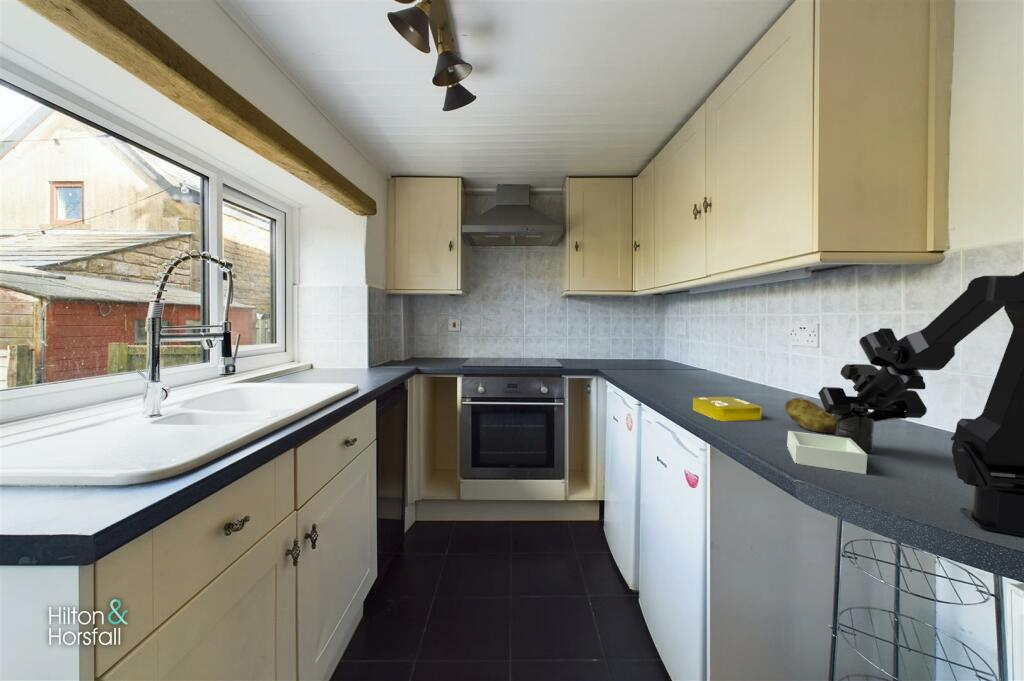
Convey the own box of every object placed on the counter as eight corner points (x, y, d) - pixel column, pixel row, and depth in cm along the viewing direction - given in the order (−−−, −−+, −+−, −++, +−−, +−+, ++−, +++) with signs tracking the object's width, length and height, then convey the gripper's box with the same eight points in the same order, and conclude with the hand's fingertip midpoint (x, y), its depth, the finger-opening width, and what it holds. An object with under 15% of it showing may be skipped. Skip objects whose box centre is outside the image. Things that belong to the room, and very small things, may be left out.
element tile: (764, 421, 120) (765, 405, 120) (718, 422, 118) (719, 406, 118) (731, 408, 135) (732, 395, 134) (690, 410, 133) (690, 396, 133)
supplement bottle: (879, 454, 91) (883, 403, 90) (845, 452, 92) (849, 402, 91) (860, 444, 98) (863, 397, 97) (828, 443, 99) (831, 395, 98)
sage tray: (865, 474, 80) (867, 455, 80) (795, 463, 86) (796, 445, 85) (849, 455, 91) (850, 438, 90) (787, 446, 96) (788, 430, 96)
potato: (817, 436, 104) (819, 406, 103) (778, 422, 117) (780, 396, 116) (845, 435, 105) (847, 405, 105) (803, 421, 118) (805, 395, 117)
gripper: (920, 355, 87) (880, 393, 99) (825, 353, 91) (797, 390, 103) (949, 397, 80) (902, 434, 92) (844, 393, 84) (812, 429, 96)
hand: (851, 420), depth 96 cm, fingers closed on supplement bottle, 7 cm apart
